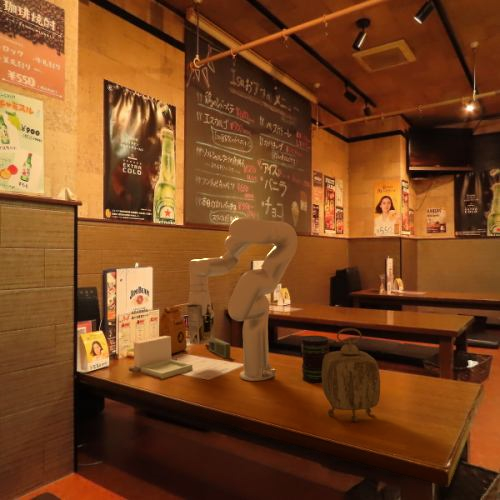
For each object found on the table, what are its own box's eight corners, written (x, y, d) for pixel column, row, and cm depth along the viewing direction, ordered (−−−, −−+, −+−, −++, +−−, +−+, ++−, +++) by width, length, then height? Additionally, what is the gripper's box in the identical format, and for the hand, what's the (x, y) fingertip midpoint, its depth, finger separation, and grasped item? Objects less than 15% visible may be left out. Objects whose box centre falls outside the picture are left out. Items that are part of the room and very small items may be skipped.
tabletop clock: (372, 411, 118) (369, 324, 118) (384, 424, 109) (380, 330, 109) (322, 413, 118) (320, 326, 118) (330, 426, 109) (327, 332, 109)
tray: (192, 369, 167) (192, 364, 167) (162, 378, 155) (161, 373, 155) (171, 364, 176) (171, 359, 176) (141, 372, 165) (140, 367, 165)
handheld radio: (224, 359, 182) (203, 348, 204) (231, 358, 184) (209, 348, 206) (224, 344, 183) (203, 335, 204) (231, 343, 184) (209, 334, 206)
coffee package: (190, 350, 201) (188, 305, 201) (172, 356, 190) (170, 308, 190) (174, 348, 206) (173, 304, 206) (156, 353, 195) (155, 307, 196)
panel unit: (176, 361, 181) (175, 336, 181) (137, 371, 166) (136, 344, 166) (168, 359, 185) (167, 334, 185) (128, 369, 170) (128, 342, 170)
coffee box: (204, 339, 178) (202, 302, 178) (215, 340, 174) (213, 302, 174) (188, 343, 171) (186, 304, 171) (199, 345, 167) (197, 305, 167)
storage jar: (298, 381, 147) (297, 339, 147) (307, 374, 156) (306, 334, 156) (325, 385, 142) (323, 342, 143) (333, 377, 151) (332, 336, 151)
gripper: (179, 289, 176) (181, 331, 175) (206, 289, 164) (209, 334, 164) (192, 287, 181) (194, 328, 181) (220, 287, 170) (222, 331, 169)
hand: (201, 330), depth 172 cm, fingers closed on coffee box, 6 cm apart
